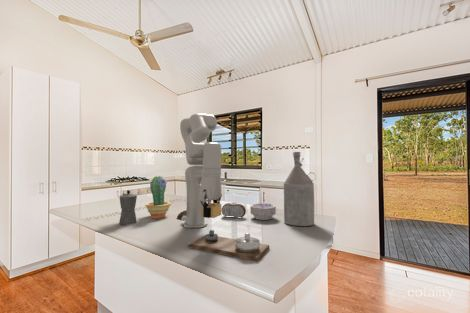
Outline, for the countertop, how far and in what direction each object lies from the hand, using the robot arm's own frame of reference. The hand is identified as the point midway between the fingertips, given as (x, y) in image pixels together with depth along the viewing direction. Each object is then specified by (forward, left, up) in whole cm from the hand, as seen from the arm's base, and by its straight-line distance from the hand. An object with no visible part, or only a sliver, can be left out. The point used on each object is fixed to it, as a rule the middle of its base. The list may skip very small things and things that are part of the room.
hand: (211, 215), depth 96 cm
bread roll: (-37, +31, -12) cm, 50 cm away
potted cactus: (-56, +26, -12) cm, 62 cm away
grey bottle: (+26, +49, -12) cm, 57 cm away
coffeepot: (-60, +7, -12) cm, 61 cm away
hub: (+17, -2, -10) cm, 20 cm away
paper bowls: (+4, +51, -12) cm, 52 cm away
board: (+9, -1, -12) cm, 15 cm away
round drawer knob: (0, 0, -10) cm, 10 cm away
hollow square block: (0, 0, 0) cm, 0 cm away
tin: (-13, +45, -12) cm, 48 cm away
